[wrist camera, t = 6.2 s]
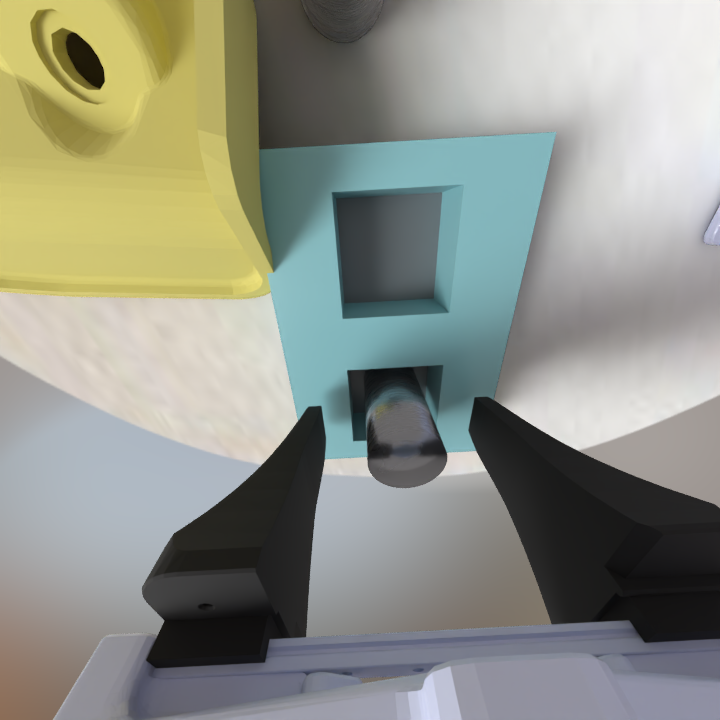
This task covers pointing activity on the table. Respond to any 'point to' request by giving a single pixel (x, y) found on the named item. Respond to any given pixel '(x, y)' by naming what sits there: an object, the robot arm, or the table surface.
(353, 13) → the peg
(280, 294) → the housing
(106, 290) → the plastic component
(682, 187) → the table surface
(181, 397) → the table surface
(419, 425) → the peg
